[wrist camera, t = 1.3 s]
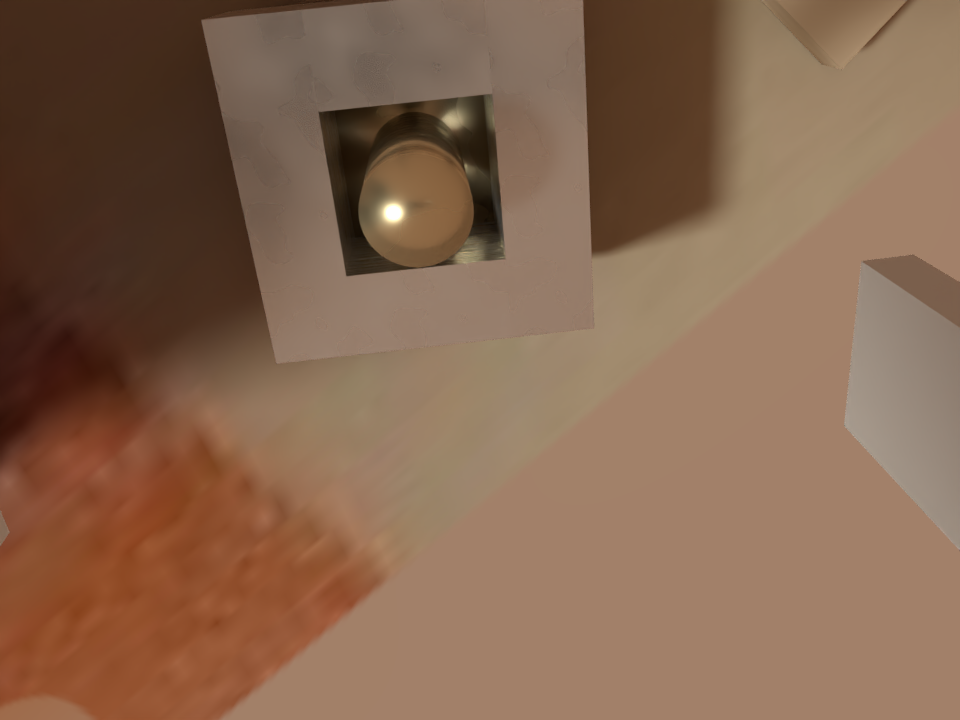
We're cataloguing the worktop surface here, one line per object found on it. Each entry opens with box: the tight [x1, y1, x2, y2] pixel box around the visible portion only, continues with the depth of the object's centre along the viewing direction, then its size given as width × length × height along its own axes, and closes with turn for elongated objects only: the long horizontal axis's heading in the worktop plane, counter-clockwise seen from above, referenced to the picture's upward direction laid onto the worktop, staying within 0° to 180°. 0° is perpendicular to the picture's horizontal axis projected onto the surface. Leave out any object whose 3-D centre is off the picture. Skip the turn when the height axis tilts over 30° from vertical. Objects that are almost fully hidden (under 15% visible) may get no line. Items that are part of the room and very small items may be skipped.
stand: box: [335, 95, 494, 267], centre depth 26 cm, size 7×7×8 cm
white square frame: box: [201, 0, 594, 364], centre depth 26 cm, size 10×10×4 cm
